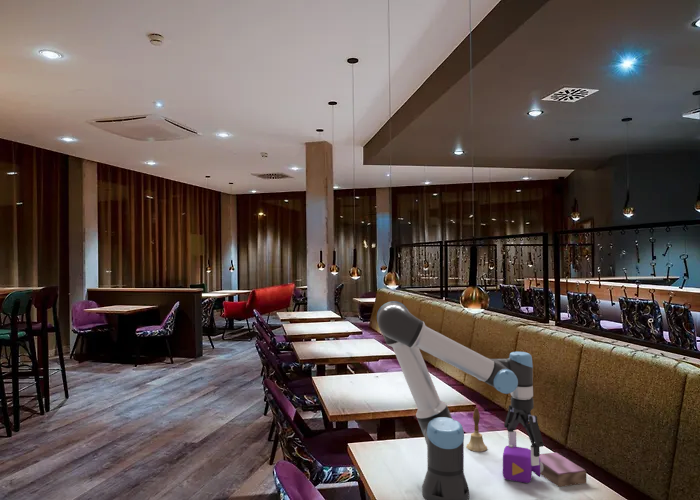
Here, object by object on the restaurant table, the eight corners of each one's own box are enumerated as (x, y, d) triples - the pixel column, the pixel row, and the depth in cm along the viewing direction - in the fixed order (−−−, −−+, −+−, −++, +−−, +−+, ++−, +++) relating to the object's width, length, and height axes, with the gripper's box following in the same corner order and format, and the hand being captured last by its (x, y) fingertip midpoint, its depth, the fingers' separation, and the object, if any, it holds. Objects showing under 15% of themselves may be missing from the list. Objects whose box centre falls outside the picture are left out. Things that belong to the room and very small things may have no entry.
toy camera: (545, 486, 165) (545, 457, 165) (503, 483, 168) (503, 454, 168) (539, 472, 176) (539, 445, 176) (500, 469, 178) (500, 442, 179)
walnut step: (558, 486, 165) (558, 473, 165) (530, 466, 181) (530, 454, 181) (586, 483, 168) (586, 470, 168) (556, 463, 183) (556, 452, 183)
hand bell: (462, 446, 200) (461, 407, 200) (477, 442, 204) (477, 404, 204) (476, 453, 193) (476, 413, 193) (491, 449, 197) (491, 409, 197)
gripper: (554, 406, 161) (555, 470, 161) (511, 386, 185) (513, 442, 185) (533, 408, 159) (535, 473, 159) (493, 388, 183) (495, 445, 183)
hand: (523, 457), depth 172 cm, fingers open, 13 cm apart
